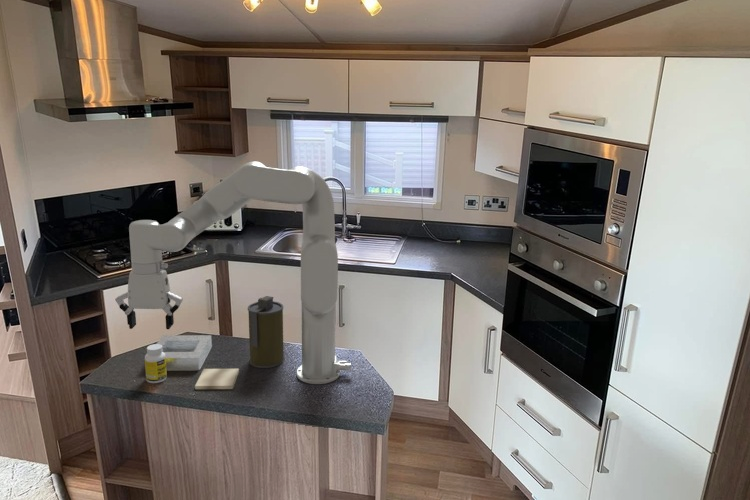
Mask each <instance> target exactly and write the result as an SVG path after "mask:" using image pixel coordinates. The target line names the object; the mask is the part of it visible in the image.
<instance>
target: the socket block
mask: <svg viewBox="0 0 750 500" xmlns="http://www.w3.org/2000/svg"><path fill="white" fill-rule="evenodd" d="M212 343H213V342H212V335H211V334H209V335H205V334H202V335H200V334H199V335H196V334H195V335H192V334H191V335H188V334H187V335H186V334H185V335H183V334H182V335H179V334H177V335H172V334H171V335H168V334H166V335H162V336H161V337H160V338H159V339H158V341H157V342H156V344H160V345H162V349H163V351H162V352H164V353H165V355H166V370H167V372H168V371H169V372H170V371H173V372H175V371H178V372H180V371H182V372H183V371H190V372H191V371H200V370H201V369H202V367H203V365H204V363H205V361H206V359H207V357H208V355H209V353H210V351H211V350H212V347H213V344H212Z"/></svg>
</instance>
